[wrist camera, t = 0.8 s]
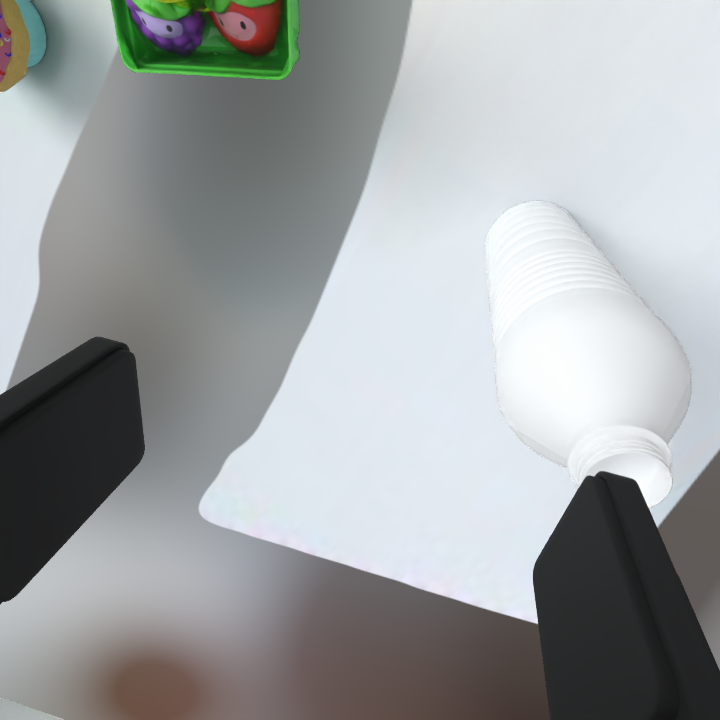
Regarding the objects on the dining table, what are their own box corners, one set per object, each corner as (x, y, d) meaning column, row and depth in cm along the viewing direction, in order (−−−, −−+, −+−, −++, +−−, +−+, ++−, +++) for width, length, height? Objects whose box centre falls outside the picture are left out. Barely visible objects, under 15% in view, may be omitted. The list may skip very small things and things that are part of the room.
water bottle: (487, 201, 33) (513, 379, 12) (585, 198, 32) (818, 394, 10) (480, 313, 37) (490, 596, 16) (566, 315, 36) (705, 628, 14)
